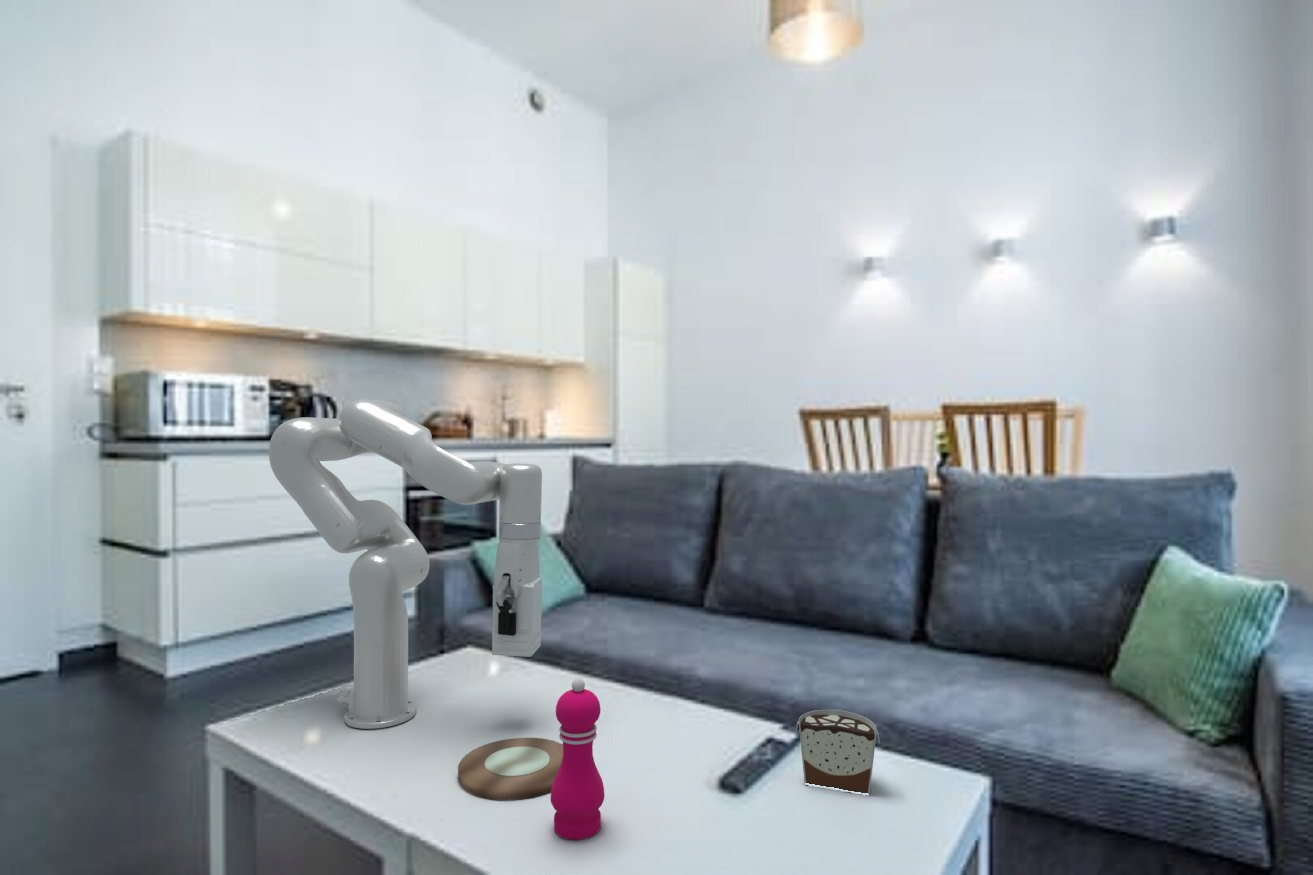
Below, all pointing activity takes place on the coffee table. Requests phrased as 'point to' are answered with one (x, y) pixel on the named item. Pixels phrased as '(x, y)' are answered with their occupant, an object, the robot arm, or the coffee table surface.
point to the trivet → (511, 768)
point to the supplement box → (520, 623)
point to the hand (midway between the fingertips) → (517, 627)
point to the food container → (837, 749)
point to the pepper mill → (577, 766)
